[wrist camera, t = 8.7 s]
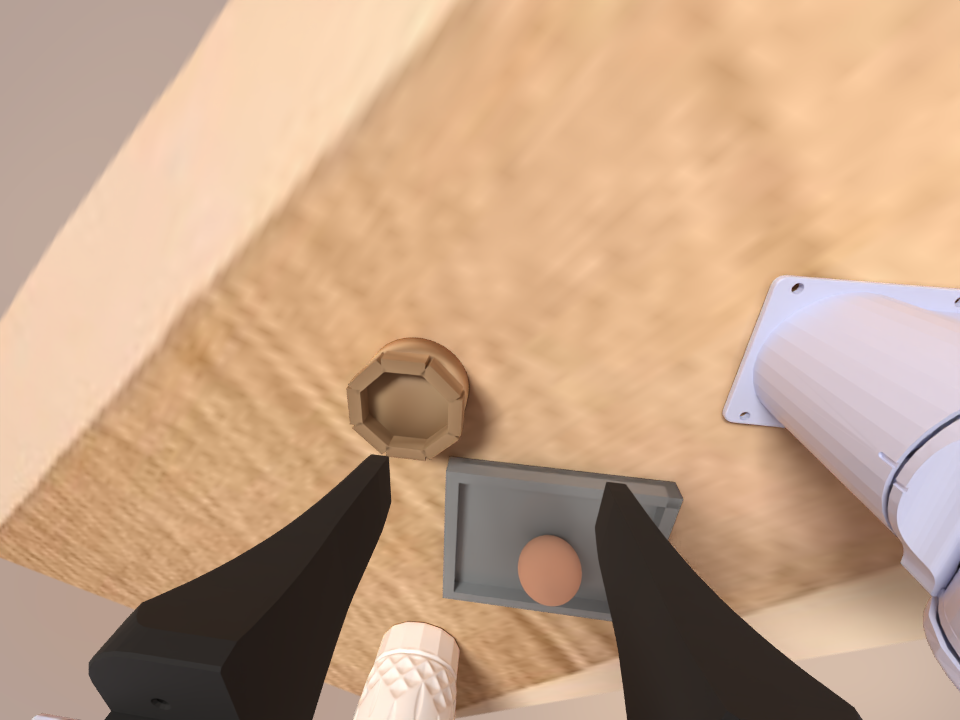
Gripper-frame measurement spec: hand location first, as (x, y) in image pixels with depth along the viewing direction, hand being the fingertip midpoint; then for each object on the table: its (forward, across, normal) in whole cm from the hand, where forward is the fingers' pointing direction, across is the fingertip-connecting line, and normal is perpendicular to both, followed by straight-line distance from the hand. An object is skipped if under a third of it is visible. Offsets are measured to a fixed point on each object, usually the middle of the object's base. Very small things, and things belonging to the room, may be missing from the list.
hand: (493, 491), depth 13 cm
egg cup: (+10, +5, +2) cm, 11 cm away
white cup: (+10, +5, +28) cm, 30 cm away
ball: (+9, -4, +13) cm, 17 cm away
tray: (+10, -4, +13) cm, 17 cm away
